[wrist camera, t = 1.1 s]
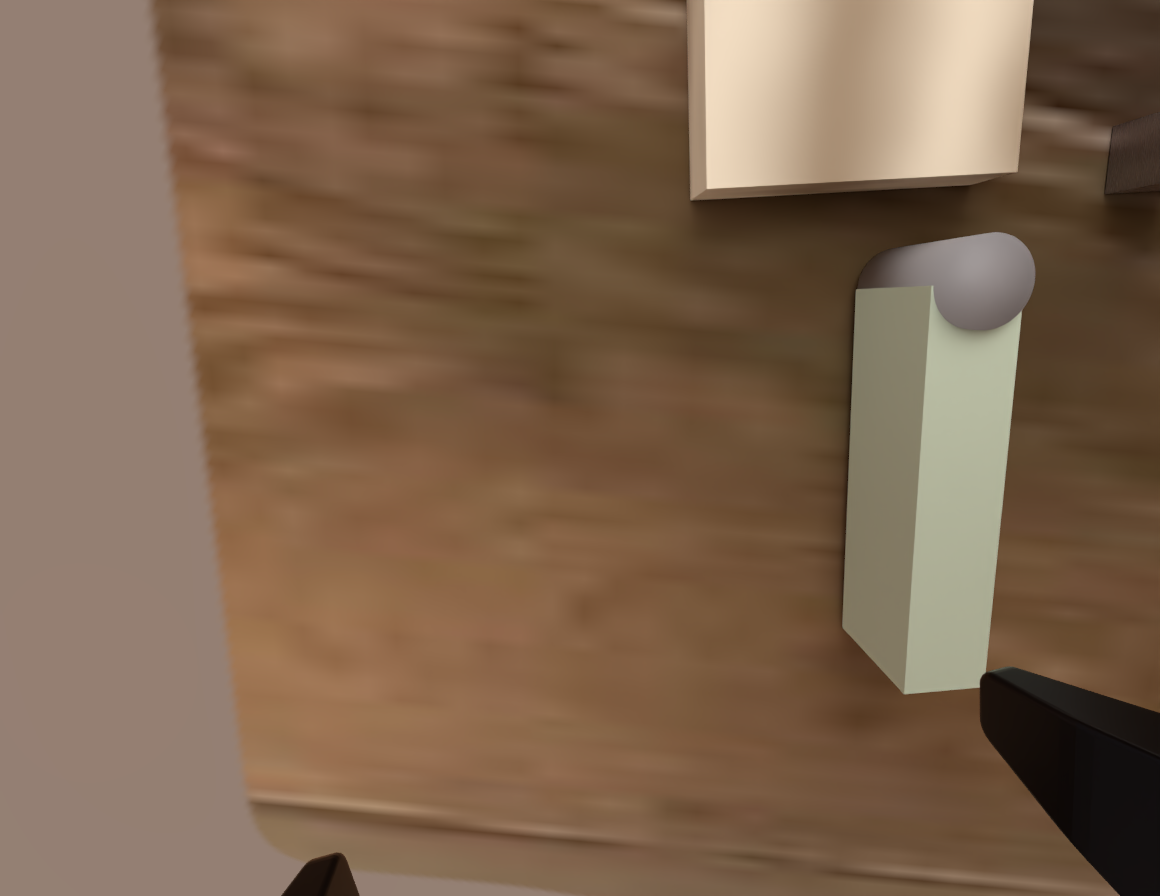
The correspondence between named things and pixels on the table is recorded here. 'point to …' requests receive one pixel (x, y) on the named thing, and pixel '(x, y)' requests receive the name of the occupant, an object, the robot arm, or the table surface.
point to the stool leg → (931, 453)
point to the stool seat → (853, 94)
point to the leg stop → (1135, 156)
